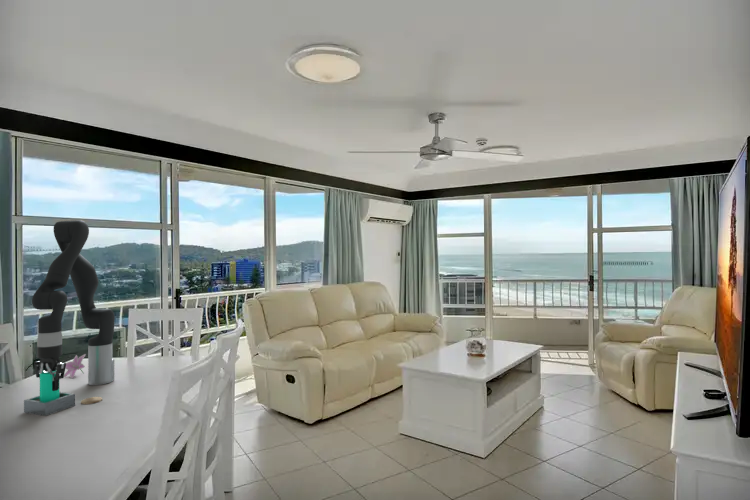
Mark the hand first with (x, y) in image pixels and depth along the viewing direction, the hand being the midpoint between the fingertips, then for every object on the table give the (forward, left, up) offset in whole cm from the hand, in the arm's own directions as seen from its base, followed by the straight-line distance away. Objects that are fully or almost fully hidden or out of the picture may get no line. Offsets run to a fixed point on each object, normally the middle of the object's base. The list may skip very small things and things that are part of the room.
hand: (49, 389), depth 162 cm
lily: (-36, -35, -8) cm, 51 cm away
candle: (0, 0, -4) cm, 4 cm away
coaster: (-11, +7, -7) cm, 15 cm away
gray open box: (0, 0, -7) cm, 7 cm away
